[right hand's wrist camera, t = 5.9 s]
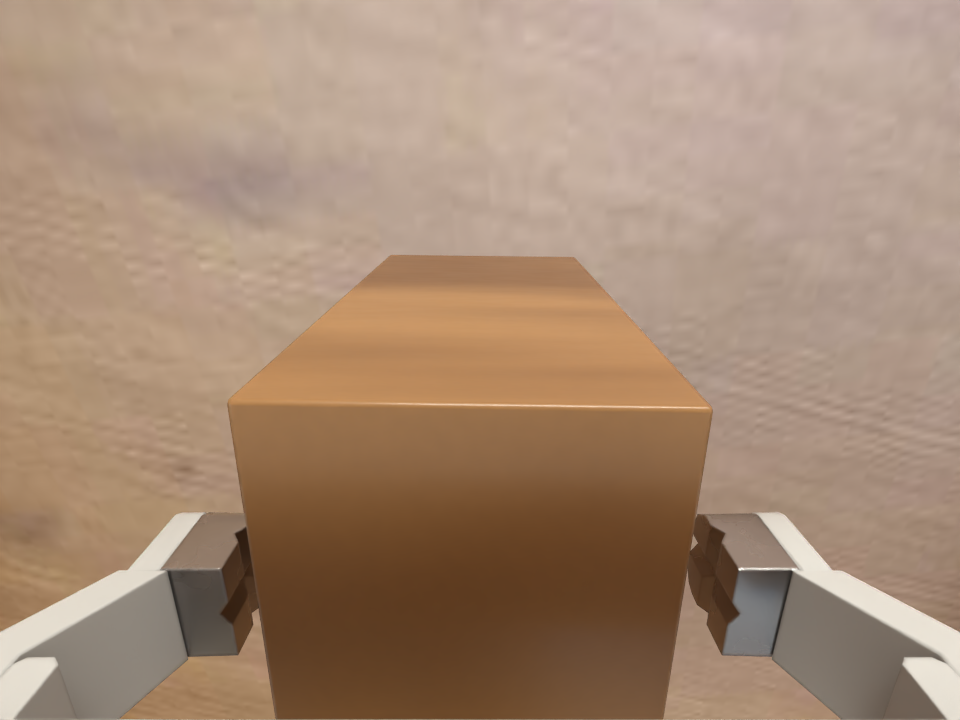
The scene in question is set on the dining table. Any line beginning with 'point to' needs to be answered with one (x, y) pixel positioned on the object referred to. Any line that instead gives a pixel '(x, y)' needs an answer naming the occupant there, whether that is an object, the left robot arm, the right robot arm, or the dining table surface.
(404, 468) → the box
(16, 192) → the dining table surface
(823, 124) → the dining table surface
